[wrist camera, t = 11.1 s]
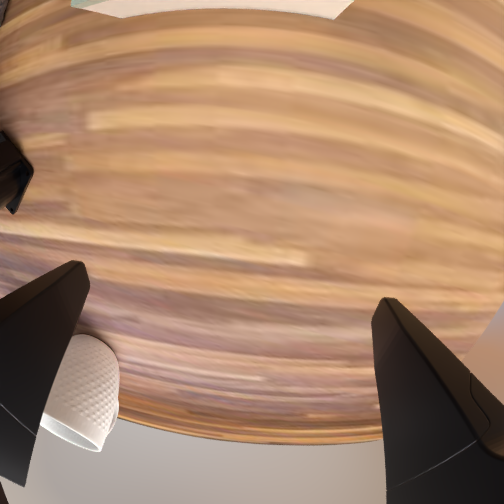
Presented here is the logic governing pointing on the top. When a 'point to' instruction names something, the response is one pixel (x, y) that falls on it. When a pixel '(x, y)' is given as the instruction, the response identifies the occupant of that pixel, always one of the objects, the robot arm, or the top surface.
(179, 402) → the top surface
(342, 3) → the green and cream box
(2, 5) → the perforated stone tool
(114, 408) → the mug
